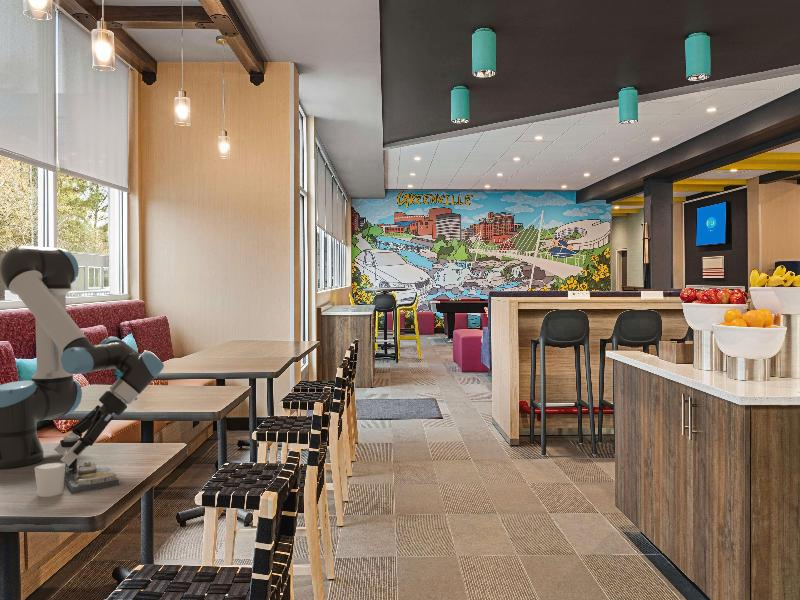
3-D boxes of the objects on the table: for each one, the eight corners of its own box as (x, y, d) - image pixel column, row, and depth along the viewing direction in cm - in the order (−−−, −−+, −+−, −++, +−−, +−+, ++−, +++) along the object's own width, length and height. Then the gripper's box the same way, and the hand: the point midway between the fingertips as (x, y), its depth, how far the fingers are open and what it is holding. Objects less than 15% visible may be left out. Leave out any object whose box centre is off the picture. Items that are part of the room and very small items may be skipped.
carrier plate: (63, 478, 173) (63, 463, 173) (107, 471, 180) (107, 457, 180) (72, 493, 161) (72, 477, 161) (119, 485, 167) (118, 469, 167)
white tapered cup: (58, 487, 166) (58, 460, 166) (70, 492, 162) (70, 465, 162) (30, 493, 161) (29, 466, 161) (41, 499, 157) (41, 471, 156)
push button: (80, 474, 177) (79, 438, 177) (58, 476, 175) (58, 440, 175) (82, 468, 183) (82, 433, 183) (61, 470, 181) (61, 435, 181)
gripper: (138, 412, 178) (79, 475, 169) (119, 399, 198) (65, 455, 190) (117, 395, 175) (56, 459, 166) (100, 384, 195) (44, 440, 186)
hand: (61, 457), depth 178 cm, fingers open, 12 cm apart
